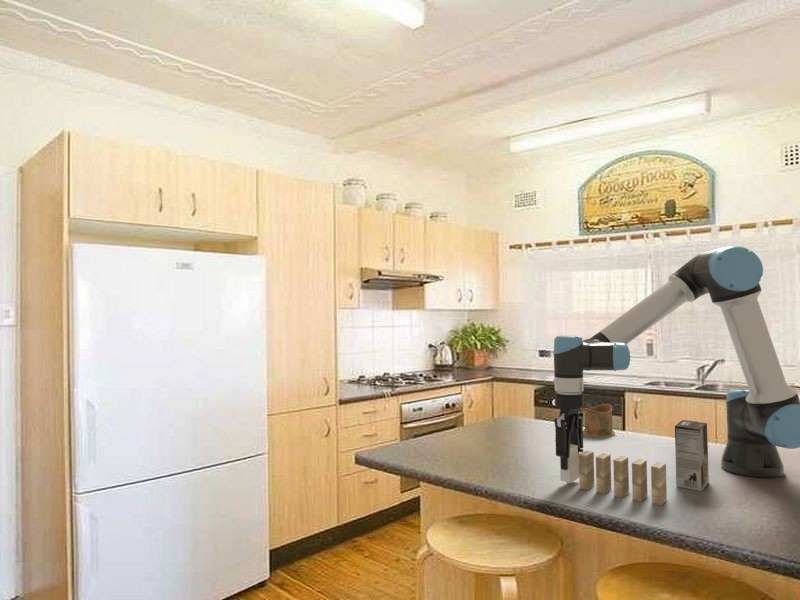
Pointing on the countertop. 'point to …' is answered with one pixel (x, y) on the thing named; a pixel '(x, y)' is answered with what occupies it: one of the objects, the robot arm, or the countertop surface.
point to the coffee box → (691, 455)
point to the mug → (598, 421)
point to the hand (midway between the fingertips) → (570, 478)
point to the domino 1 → (574, 462)
